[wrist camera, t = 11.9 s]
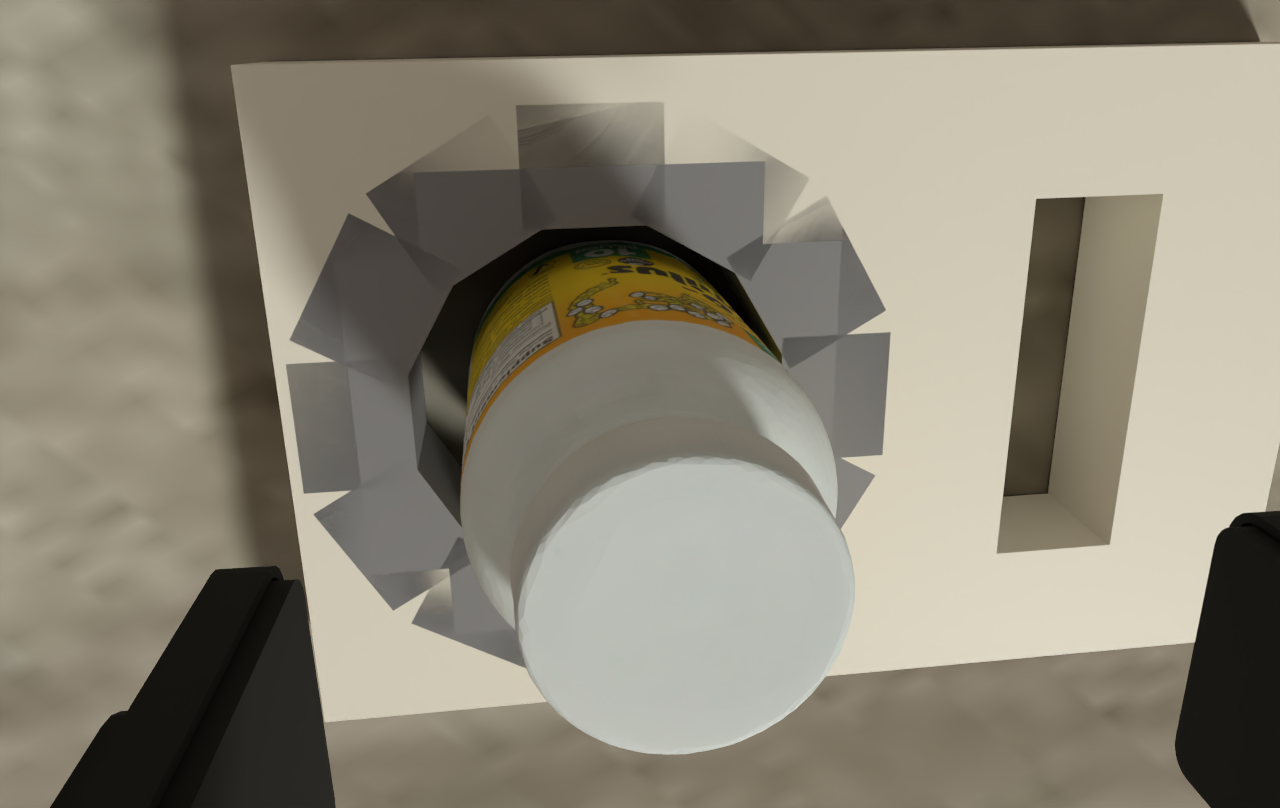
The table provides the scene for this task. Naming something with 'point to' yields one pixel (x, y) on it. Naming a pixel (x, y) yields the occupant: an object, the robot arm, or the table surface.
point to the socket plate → (795, 319)
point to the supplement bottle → (650, 502)
